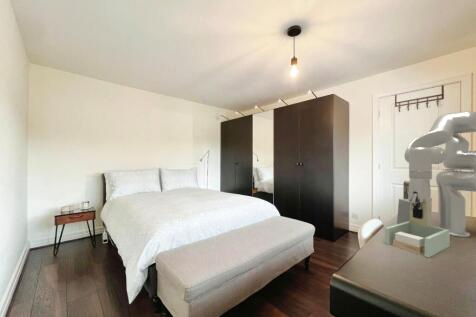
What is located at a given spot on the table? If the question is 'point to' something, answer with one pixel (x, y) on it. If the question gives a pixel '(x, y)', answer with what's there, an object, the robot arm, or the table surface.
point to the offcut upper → (409, 239)
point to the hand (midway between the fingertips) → (420, 216)
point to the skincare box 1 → (403, 211)
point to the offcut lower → (409, 247)
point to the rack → (432, 236)
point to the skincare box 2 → (426, 213)
